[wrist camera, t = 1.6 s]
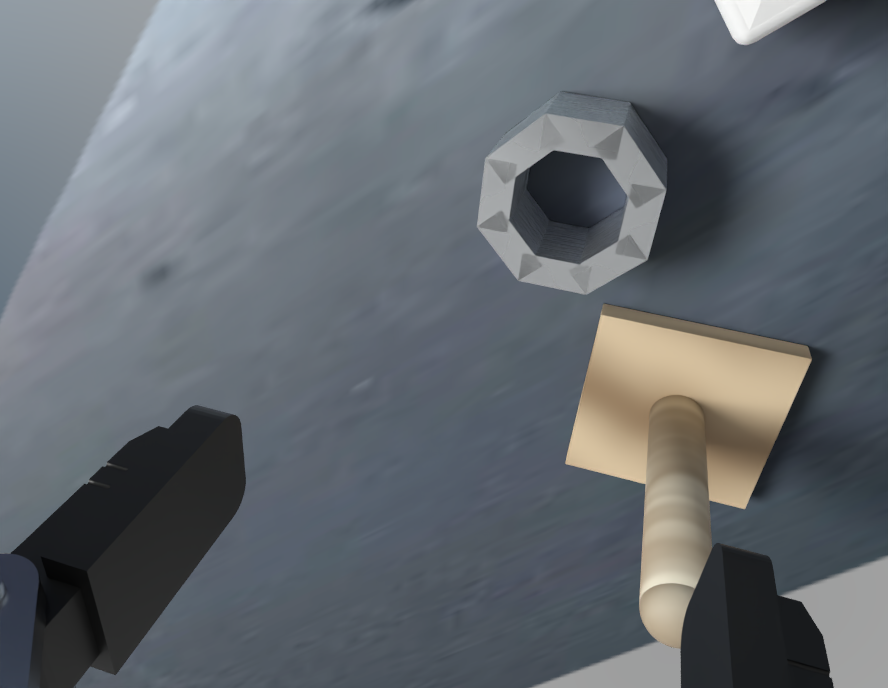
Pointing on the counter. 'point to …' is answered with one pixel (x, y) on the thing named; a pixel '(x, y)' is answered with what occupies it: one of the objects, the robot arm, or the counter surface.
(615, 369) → the post stand
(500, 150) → the ring
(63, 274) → the counter surface
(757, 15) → the medicine bottle
